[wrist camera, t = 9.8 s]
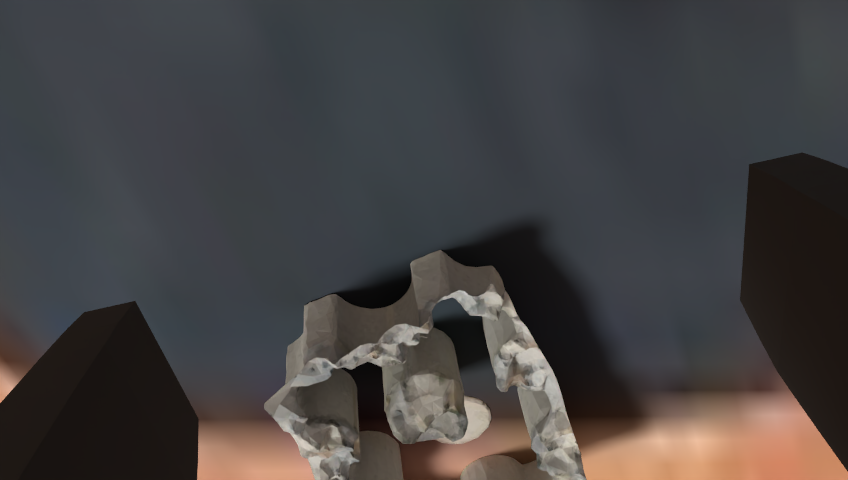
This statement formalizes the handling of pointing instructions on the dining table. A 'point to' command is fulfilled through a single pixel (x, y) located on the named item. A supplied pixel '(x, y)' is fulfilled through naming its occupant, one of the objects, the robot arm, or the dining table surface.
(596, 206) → the dining table surface
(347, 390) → the egg carton
